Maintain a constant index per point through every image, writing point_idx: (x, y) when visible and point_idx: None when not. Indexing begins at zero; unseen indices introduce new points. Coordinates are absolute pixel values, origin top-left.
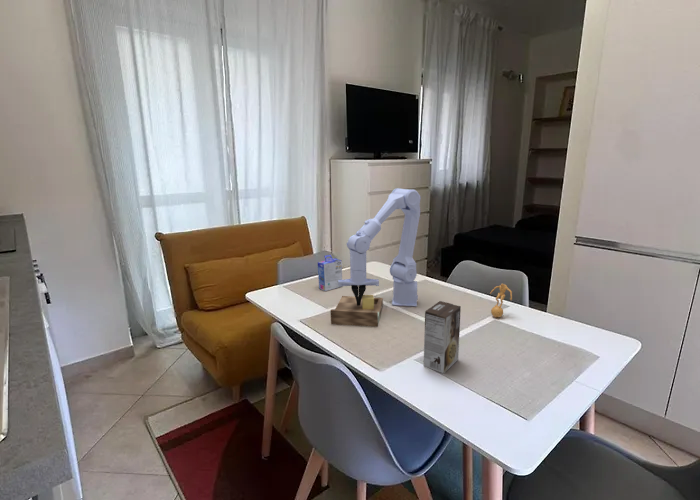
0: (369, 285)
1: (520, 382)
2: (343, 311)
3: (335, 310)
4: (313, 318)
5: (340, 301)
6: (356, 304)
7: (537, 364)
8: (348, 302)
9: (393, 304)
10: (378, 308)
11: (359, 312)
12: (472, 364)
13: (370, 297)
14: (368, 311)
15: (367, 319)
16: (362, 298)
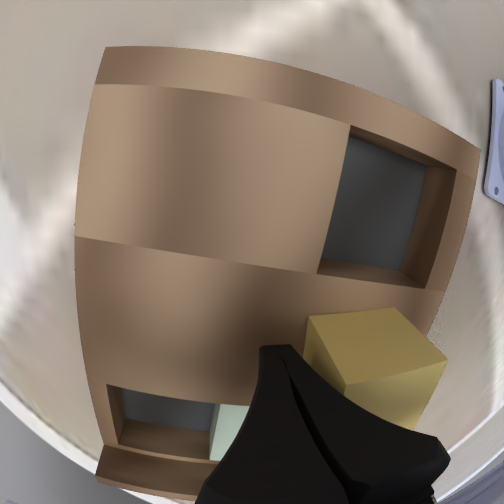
0: (451, 500)
1: (449, 485)
2: (172, 497)
3: (124, 487)
4: (16, 356)
5: (85, 210)
6: (253, 296)
7: (495, 447)
8: (167, 239)
9: (492, 197)
10: None
11: None
12: (435, 482)
13: (398, 423)
14: None
15: None
16: None
